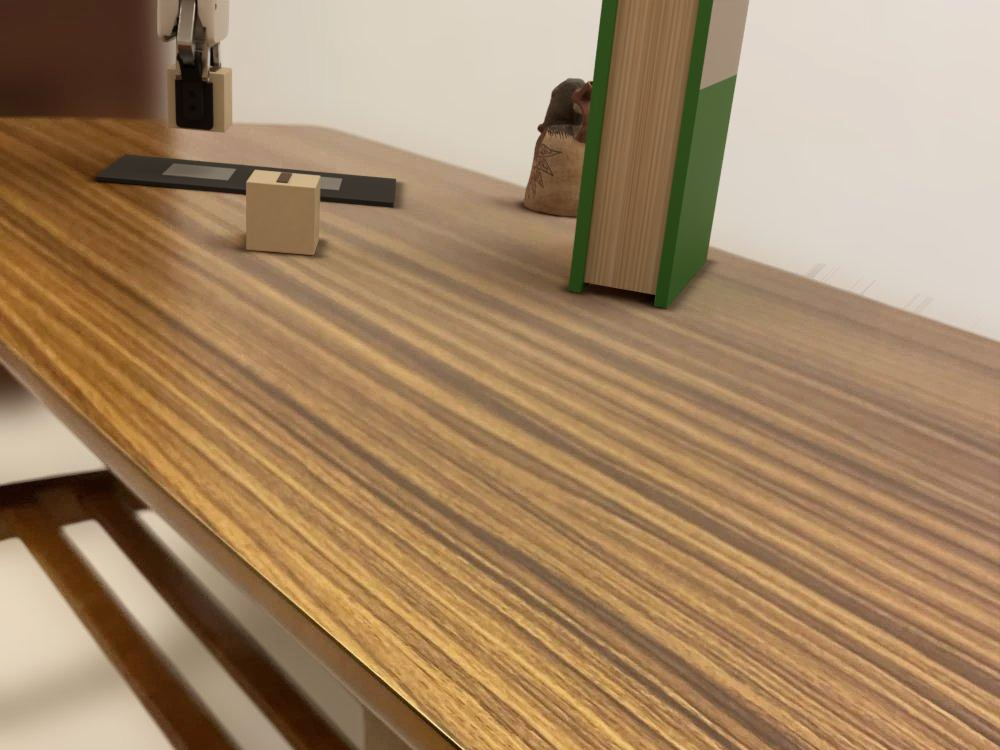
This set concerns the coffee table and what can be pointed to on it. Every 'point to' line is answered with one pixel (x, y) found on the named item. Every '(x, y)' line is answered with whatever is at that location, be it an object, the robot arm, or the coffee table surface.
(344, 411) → the coffee table surface
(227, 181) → the word mat
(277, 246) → the tile
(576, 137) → the figurine
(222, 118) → the tile
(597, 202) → the hardback book
